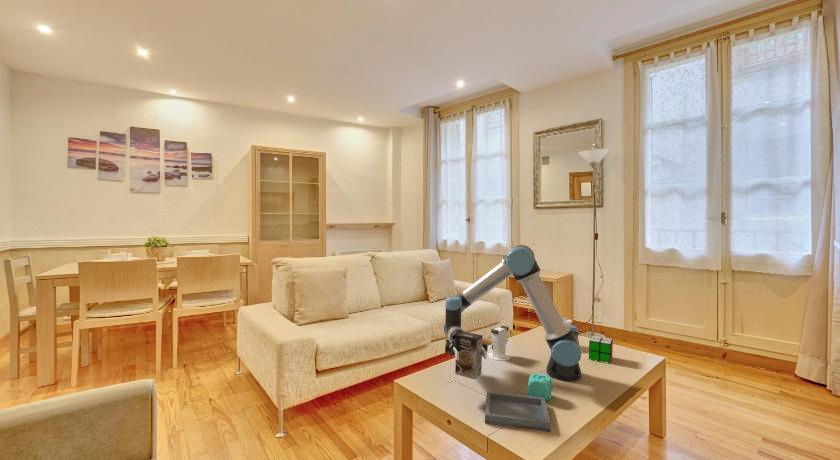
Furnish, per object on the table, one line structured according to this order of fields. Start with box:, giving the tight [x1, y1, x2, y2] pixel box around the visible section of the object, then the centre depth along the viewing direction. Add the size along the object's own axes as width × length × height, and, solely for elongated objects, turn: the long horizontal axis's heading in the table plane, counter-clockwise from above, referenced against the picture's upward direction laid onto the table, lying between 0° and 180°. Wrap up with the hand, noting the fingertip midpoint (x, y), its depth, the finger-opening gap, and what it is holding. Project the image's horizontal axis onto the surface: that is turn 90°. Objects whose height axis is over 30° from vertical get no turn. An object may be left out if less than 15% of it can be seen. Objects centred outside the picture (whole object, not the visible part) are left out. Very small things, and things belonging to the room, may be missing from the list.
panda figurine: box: [487, 325, 511, 362], centre depth 194 cm, size 12×11×15 cm
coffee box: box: [454, 330, 483, 380], centre depth 149 cm, size 9×6×16 cm
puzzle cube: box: [588, 335, 614, 364], centre depth 193 cm, size 10×10×10 cm
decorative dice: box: [527, 372, 553, 402], centre depth 151 cm, size 8×8×8 cm
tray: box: [484, 391, 551, 432], centre depth 138 cm, size 22×18×3 cm
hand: (471, 356), depth 145 cm, fingers closed on coffee box, 10 cm apart
